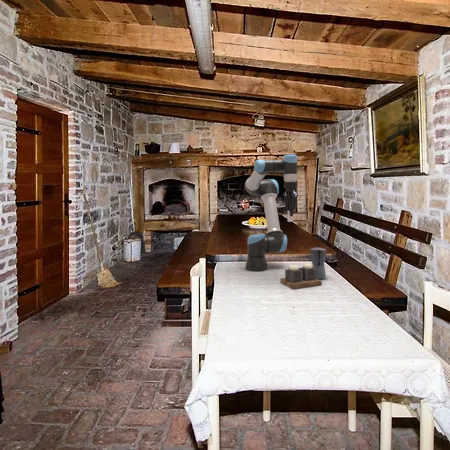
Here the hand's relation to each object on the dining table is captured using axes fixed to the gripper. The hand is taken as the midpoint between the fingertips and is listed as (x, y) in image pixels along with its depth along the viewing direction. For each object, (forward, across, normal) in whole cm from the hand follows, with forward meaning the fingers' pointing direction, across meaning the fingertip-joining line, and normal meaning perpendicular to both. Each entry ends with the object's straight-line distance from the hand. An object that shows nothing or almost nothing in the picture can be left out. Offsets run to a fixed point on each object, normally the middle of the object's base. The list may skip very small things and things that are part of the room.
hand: (290, 221), depth 201 cm
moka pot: (+35, +6, +16) cm, 39 cm away
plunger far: (+31, +13, +4) cm, 34 cm away
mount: (+34, +13, -1) cm, 37 cm away
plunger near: (+31, +13, -6) cm, 34 cm away
